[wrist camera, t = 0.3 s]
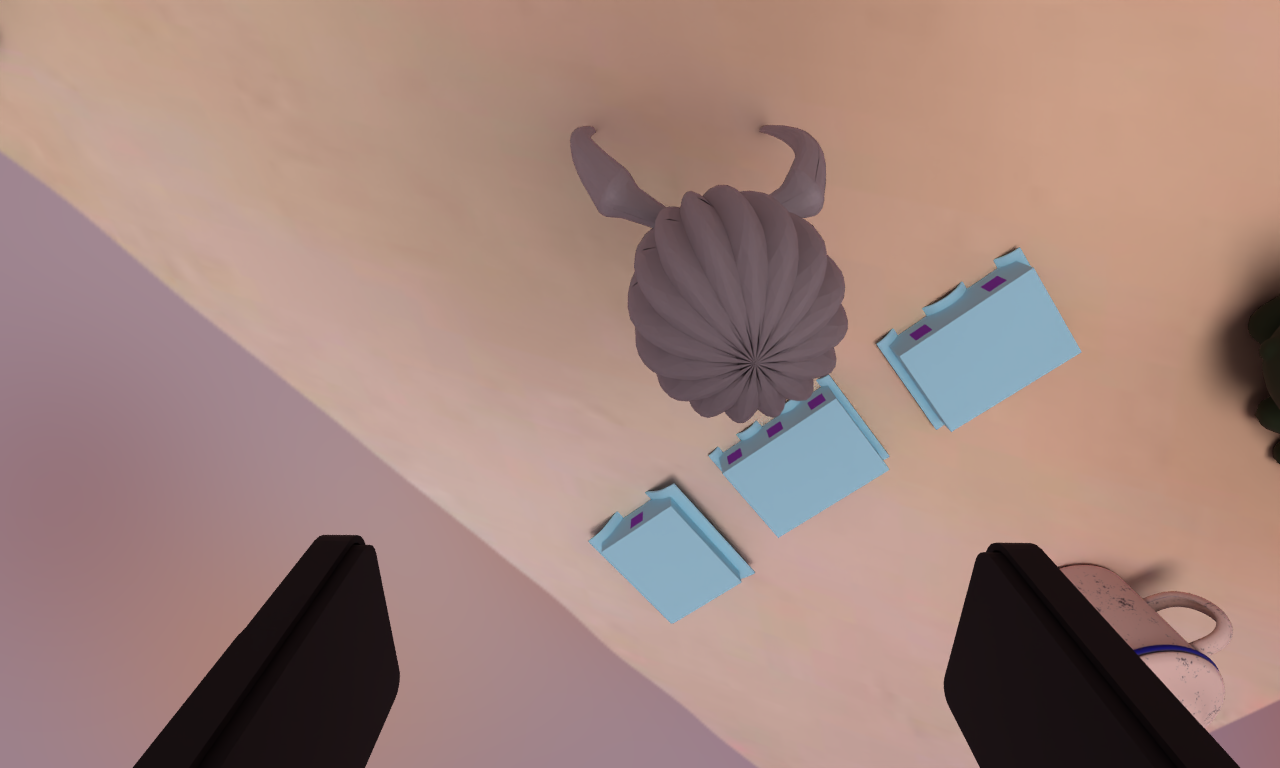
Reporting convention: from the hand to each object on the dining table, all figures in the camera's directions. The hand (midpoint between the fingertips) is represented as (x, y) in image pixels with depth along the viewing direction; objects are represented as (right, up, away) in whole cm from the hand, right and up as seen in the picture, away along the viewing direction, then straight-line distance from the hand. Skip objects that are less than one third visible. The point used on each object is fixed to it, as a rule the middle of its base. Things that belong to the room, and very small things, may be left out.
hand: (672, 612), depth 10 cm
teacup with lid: (+34, -13, +39) cm, 53 cm away
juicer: (+2, +14, +28) cm, 31 cm away
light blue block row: (+12, -1, +35) cm, 37 cm away
